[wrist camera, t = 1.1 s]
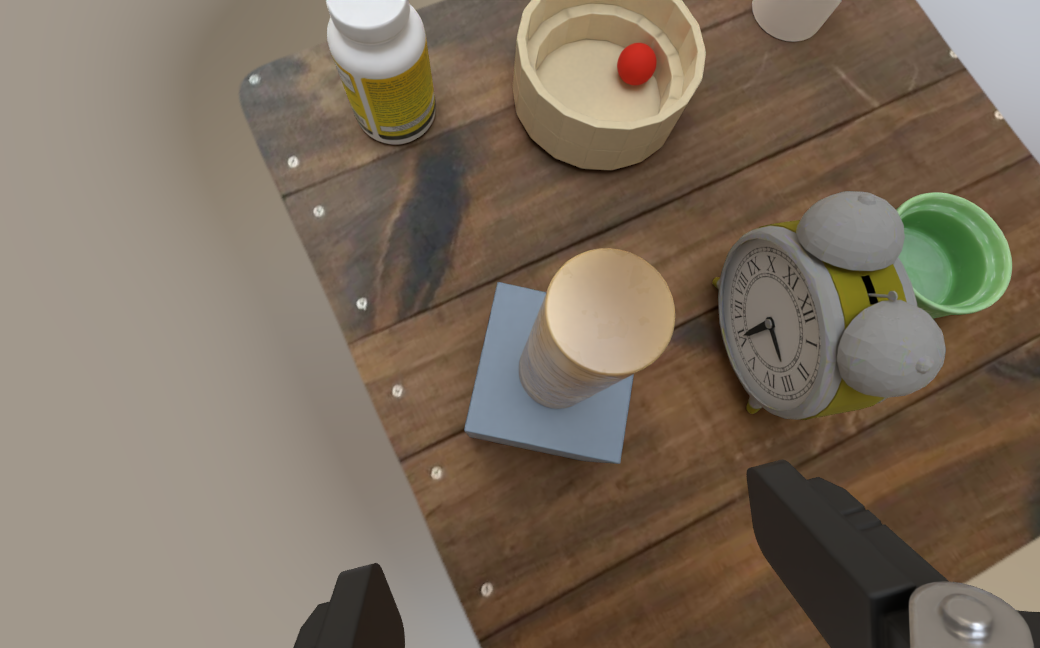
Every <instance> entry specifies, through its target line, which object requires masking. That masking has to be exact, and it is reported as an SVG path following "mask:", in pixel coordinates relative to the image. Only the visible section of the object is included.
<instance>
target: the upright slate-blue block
mask: <svg viewBox="0 0 1040 648" xmlns="http://www.w3.org/2000/svg"><path fill="white" fill-rule="evenodd" d="M545 295H546V292H542V291H537V290H533V289H528V288H524V287H519V286H514V285H510V284H505V283H501V282H498V283H497V287H496V291H495V296H494V300H493V305H492V309H491V313H490V318H489V322H488V327H487V331H486V336H485V340H484V344H483V349H482V353H481V358H480V362H479V366H478V371H477V375H476V380H475V384H474V389H473V393H472V397H471V402H470V406H469V411H468V415H467V419H466V424H465V428H464V431H465V432H466V433H467V435H468V436H469V437H472V438H477V439H481V440H486V441H491V442H495V443H500V444H505V445H510V446H514V447H519V448H524V449H529V450H533V451H538V452H543V453H547V454H552V455H557V456H562V457H566V458H571V459H576V460H580V461H589V462H602V463H615V464H620V461H621V454H622V448H623V441H624V435H625V428H626V422H627V415H628V409H629V402H630V396H631V389H632V383H633V376H634V374H633V375H631V376H629V377H627V378H625V379H623V380H622V381H620V382H618V383H616V384H614V385H612V386H610V387H608V388H606V389H604V390H602V391H600V392H599V393H597V394H595V395H593V396H591V397H589V398H587V399H585V400H583V401H581V402H579V403H577V404H576V405H573V406H571V407H567V408H561V409H555V408H549V407H545V406H543V405H541V404H539V403H537V402H536V401H534V400H533V399H532V398H531V397H530V396H529V395H528V394H527V393H526V391H525V390H524V388H523V386H522V384H521V381H520V377H519V361H520V357H521V355H522V352H523V350H524V347H525V345H526V342H527V340H528V337H529V335H530V332H531V330H532V327H533V325H534V322H535V320H536V317H537V315H538V312H539V310H540V307H541V305H542V302H543V300H544V297H545Z"/></svg>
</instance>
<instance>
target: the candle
mask: <svg viewBox="0 0 1040 648" xmlns="http://www.w3.org/2000/svg"><path fill="white" fill-rule="evenodd" d="M841 1H842V0H753V2H752V11H753V14H754V17H755V19H756V21H757V22H758V24H759V25H760V27H761V28H763V29H764V30H765V31H766V32H767V33H768V34H770V35H772V36H773V37H775V38H778V39H781V40H784V41H792V42H796V41H803V40H806V39H808V38H810V37H812V36H813V35H814V34H815V33H817V31H818V30H819V29H820V28H821V26H822V25H823V24H824V23H825V21H826V20H827V19H828V18H829V16H830V15H831V14H832V12H833V11H834V10H835V9H836V7H837V6H838V5H839V4H840V2H841Z"/></svg>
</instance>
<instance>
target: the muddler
mask: <svg viewBox="0 0 1040 648" xmlns="http://www.w3.org/2000/svg"><path fill="white" fill-rule="evenodd" d="M674 325H675V307H674V301H673V298H672V295H671V292H670V289H669V287H668V285H667V283H666V282H665V280H664V279H663V277H662V276H661V275H660V273H659V272H658V271H657V270H656V269H655V268H654V267H653V266H652V265H651V264H649V263H648V262H647V261H645V260H644V259H642V258H640V257H639V256H637V255H635V254H632V253H630V252H627V251H623V250H619V249H610V248H602V249H594V250H590V251H586V252H583V253H581V254H579V255H577V256H575V257H573V258H572V259H570V260H569V261H567V262H566V263H565V264H564V265H563V266H562V267H561V268H560V269H559V270H558V271H557V273H556V274H555V275H554V277H553V279H552V280H551V283H550V285H549V287H548V290H547V292H546V295H545V297H544V300H543V302H542V305H541V307H540V310H539V312H538V315H537V317H536V320H535V322H534V325H533V327H532V330H531V332H530V335H529V337H528V340H527V342H526V345H525V347H524V350H523V352H522V355H521V357H520V361H519V377H520V381H521V384H522V386H523V388H524V390H525V391H526V393H527V394H528V395H529V396H530V397H531V398H532V399H533V400H534V401H536V402H537V403H539V404H541V405H543V406H545V407H549V408H555V409H561V408H567V407H571V406H573V405H576V404H577V403H579V402H581V401H583V400H585V399H587V398H589V397H591V396H593V395H595V394H597V393H599V392H600V391H602V390H604V389H606V388H608V387H610V386H612V385H614V384H616V383H618V382H620V381H622V380H623V379H625V378H627V377H629V376H631V375H633V374H635V373H637V372H639V371H641V370H643V369H644V368H646V367H648V366H649V365H651V364H652V363H653V362H654V361H656V360H657V359H658V358H659V357H660V356H661V354H662V353H663V352H664V350H665V349H666V348H667V346H668V344H669V342H670V340H671V337H672V334H673V330H674Z"/></svg>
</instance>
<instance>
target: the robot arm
mask: <svg viewBox="0 0 1040 648" xmlns="http://www.w3.org/2000/svg"><path fill="white" fill-rule="evenodd" d="M747 484H748V491H749V499H750V507H751V515H752V522H753V529H754V533H755V537H756V539H757V542H758V545H759V547H760V549H761V551H762V553H763V555H764V556H765V558H766V559H767V561H768V562H769V564H770V565H771V566H772V568H773V569H774V570H775V572H776V573H777V575H778V576H779V577H780V579H781V580H782V581H783V583H784V584H785V585H786V587H787V588H788V590H789V591H790V592H791V594H792V595H793V596H794V598H795V599H796V601H797V602H798V603H799V605H800V606H801V607H802V609H803V610H804V611H805V613H806V614H807V616H808V617H809V618H810V620H811V621H812V622H813V624H814V625H815V626H816V628H817V629H818V631H819V632H820V633H821V635H822V636H823V637H824V639H825V640H826V642H827V643H828V644H829V646H830V647H831V648H1040V612H1026V611H1017V610H1015V609H1014V608H1013V607H1012V606H1010V605H1009V604H1008V603H1006V602H1005V601H1004V600H1002V599H1001V598H999V597H997V596H995V595H993V594H992V593H989V592H987V591H985V590H983V589H980V588H977V587H974V586H971V585H967V584H963V583H957V582H949V581H948V580H947V579H946V578H945V577H943V576H942V575H941V574H940V573H939V572H938V571H937V570H935V569H934V568H933V567H932V566H931V565H930V564H929V563H928V562H926V561H925V560H924V559H923V558H922V557H921V556H920V555H919V554H917V553H916V552H915V551H914V550H913V549H912V548H911V547H910V546H908V545H907V544H906V543H905V542H904V541H903V540H902V539H901V538H899V537H898V536H897V535H896V534H895V533H894V532H893V531H892V530H890V529H889V528H888V527H887V526H886V525H882V524H881V521H880V520H879V519H878V518H877V517H876V516H875V515H873V514H872V513H871V512H870V511H869V510H866V509H865V508H864V506H863V505H862V504H861V503H860V502H859V501H858V500H857V499H855V498H854V497H853V496H852V495H851V494H850V493H849V492H848V491H846V490H845V489H844V488H841V487H839V486H837V485H835V484H833V483H831V482H828V481H826V480H824V479H822V478H820V477H816V478H812V479H809V480H806V479H805V478H804V477H803V476H802V475H801V474H800V473H799V472H798V471H797V470H796V469H795V468H794V467H793V466H792V465H791V464H790V463H789V462H787V461H786V460H779V461H775V462H771V463H767V464H763V465H759V466H755V467H751V468H749V469H748V470H747ZM294 648H405V636H404V628H403V623H402V619H401V616H400V613H399V611H398V608H397V606H396V603H395V601H394V598H393V596H392V593H391V591H390V588H389V585H388V583H387V580H386V578H385V575H384V573H383V570H382V568H381V567H380V565H379V564H377V563H374V564H370V565H366V566H363V567H358V568H355V569H351V570H347V571H343V572H341V573H340V575H339V576H338V579H337V582H336V585H335V588H334V591H333V594H332V597H331V600H330V602H326V603H322V604H319V605H318V606H317V607H316V609H315V610H314V611H313V613H312V614H311V615H310V616H309V618H308V619H307V621H306V622H305V623H304V624H303V626H302V627H301V629H300V632H299V634H298V637H297V640H296V642H295V645H294Z"/></svg>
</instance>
